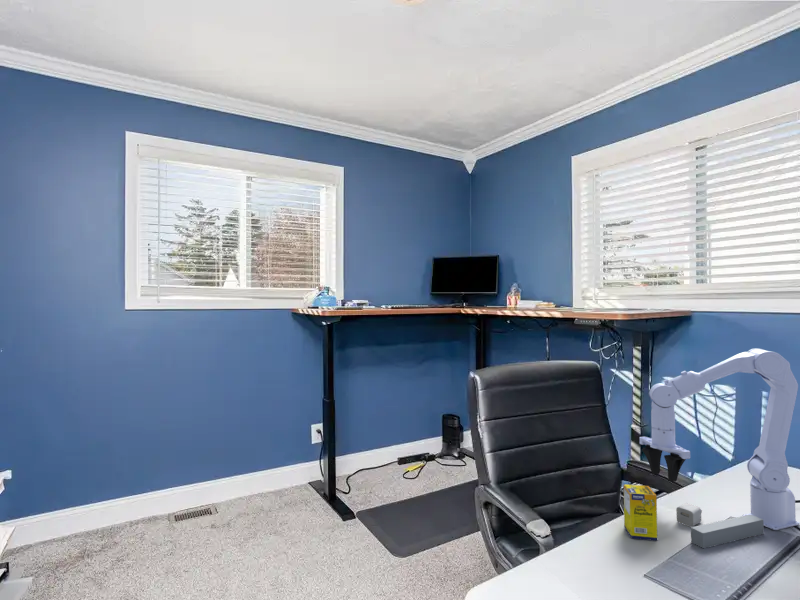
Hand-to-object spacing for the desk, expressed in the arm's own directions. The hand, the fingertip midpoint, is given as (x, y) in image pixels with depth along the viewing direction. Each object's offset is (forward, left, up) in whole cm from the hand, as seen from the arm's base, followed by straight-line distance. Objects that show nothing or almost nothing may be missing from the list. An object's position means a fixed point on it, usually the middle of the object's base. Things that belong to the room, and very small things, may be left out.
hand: (664, 477), depth 126 cm
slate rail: (0, +18, -8) cm, 19 cm away
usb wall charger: (0, +8, -9) cm, 12 cm away
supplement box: (+18, +9, -9) cm, 22 cm away
